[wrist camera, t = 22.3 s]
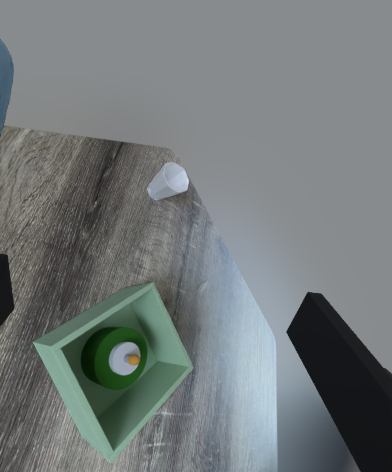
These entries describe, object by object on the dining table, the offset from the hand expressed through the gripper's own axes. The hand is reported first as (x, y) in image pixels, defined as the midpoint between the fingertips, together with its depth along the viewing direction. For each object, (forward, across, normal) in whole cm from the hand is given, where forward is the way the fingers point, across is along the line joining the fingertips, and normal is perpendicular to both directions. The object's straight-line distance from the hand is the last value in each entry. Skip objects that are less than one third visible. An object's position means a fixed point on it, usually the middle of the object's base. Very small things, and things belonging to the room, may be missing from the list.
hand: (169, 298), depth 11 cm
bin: (+20, -5, -30) cm, 36 cm away
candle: (+19, -5, -30) cm, 36 cm away
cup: (+48, -1, -9) cm, 49 cm away
